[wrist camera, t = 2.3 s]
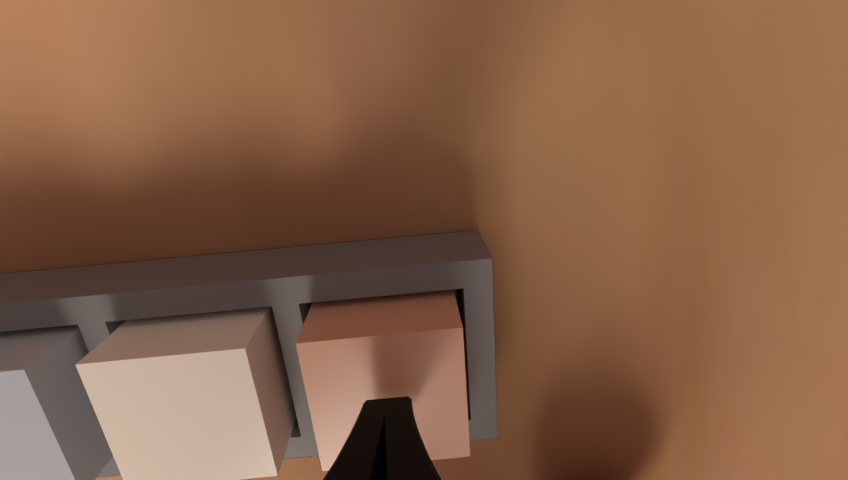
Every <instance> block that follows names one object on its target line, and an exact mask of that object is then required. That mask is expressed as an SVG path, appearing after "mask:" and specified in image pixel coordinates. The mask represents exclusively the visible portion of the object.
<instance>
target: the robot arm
mask: <svg viewBox="0 0 848 480" xmlns="http://www.w3.org/2000/svg"><path fill="white" fill-rule="evenodd" d="M323 480H441V478H440V477H439V475H438V473H437V471H436V469H435V467H434V465H433V463H432V461H431V459H430V457H429V455H428V452H427V450H426V448H425V445H424V443H423V441H422V438H421V436H420V433H419V430H418V427H417V424H416V421H415V417H414V414H413V406H412V399H411V398H409V397H408V396H404V397H394V398H383V399H373V400H366V401H365V402H364V403H363V406H362V408H361V411H360V413H359V415H358V418H357V420H356V422H355V424H354V426H353V428H352V430H351V432H350V434H349V436H348V438H347V440H346V442H345V444H344V446H343V447H342V449H341V451H340V453H339V455H338V456H337V458H336V460H335V462H334V463H333V465H332V466H331V468H330V470H329V471H328V473H327V474H326V476H325V478H324V479H323Z"/></svg>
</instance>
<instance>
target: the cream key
mask: <svg viewBox="0 0 848 480" xmlns="http://www.w3.org/2000/svg"><path fill="white" fill-rule="evenodd" d="M75 365H76V368H77V370H78V372H79V375H80V377H81V380H82V382H83V384H84V387H85V389H86V392H87V394H88V397H89V399H90V401H91V404H92V406H93V409H94V411H95V413H96V416H97V418H98V421H99V423H100V425H101V428H102V430H103V433H104V435H105V437H106V440H107V442H108V445H109V447H110V449H111V452H112V454H113V457H114V459H115V461H116V464H117V466H118V469H119V471H120V474H121V476H122V478H123V480H240V479H250V478H260V477H270V476H278V473H279V470H280V467H281V464H282V461H283V458H284V454H285V451H286V448H287V445H288V442H289V439H290V436H291V432H292V429H293V426H294V423H295V420H296V417H297V416H296V411H295V407H294V402H293V398H292V393H291V389H290V385H289V380H288V376H287V371H286V367H285V362H284V358H283V353H282V349H281V344H280V340H279V335H278V331H277V326H276V322H275V317H274V313H273V308H272V306H270V307H259V308H249V309H238V310H227V311H217V312H206V313H195V314H185V315H174V316H163V317H153V318H142V319H131V320H127V321H125V322H124V323H123V324H122V325H121V326H120V327H118V328H117V329H116V330H115V331H114V332H113V333H111V334H110V335H109V336H108V337H107V338H106V339H104V340H103V341H102V342H101V343H100V344H99V345H97V346H96V347H95V348H94V349H93V350H92V351H90V352H89V353H88V354H87V355H86V356H85V357H83V358H82V359H81V360H80V361H79V362H78V363H76V364H75Z"/></svg>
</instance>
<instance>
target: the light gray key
mask: <svg viewBox="0 0 848 480" xmlns="http://www.w3.org/2000/svg"><path fill="white" fill-rule="evenodd" d="M88 353H89V351H88V349H87V346H86V344H85V341H84V339H83V336H82V334H81V331H80V329H79V326H78V325H67V326H57V327H46V328H36V329H25V330H14V331H4V332H0V480H95V478H96V477H97V476H98V475H99V473H100V472H101V471H102V469H103V468H104V467H105V466H106V464H107V463H108V462H109V460H110V459H111V458H112V457H113V454H112V452H111V449H110V447H109V445H108V442H107V440H106V437H105V435H104V433H103V430H102V428H101V425H100V423H99V421H98V418H97V416H96V413H95V411H94V409H93V406H92V404H91V401H90V399H89V397H88V394H87V392H86V389H85V387H84V384H83V382H82V380H81V377H80V375H79V372H78V370H77V368H76V365H75V364H76V363H78V362H79V361H80V360H81V359H82V358H83V357H85V356H86V355H87V354H88Z"/></svg>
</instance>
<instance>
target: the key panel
mask: <svg viewBox="0 0 848 480" xmlns="http://www.w3.org/2000/svg"><path fill="white" fill-rule="evenodd" d="M451 289H454V294H455V298H456V302H457V306H458V310H459V314H460V318H461V322H462V326H463V339H464V356H465V373H466V390H467V407H468V424H469V441H472V440H482V439H492V438H498V434H497V402H496V370H495V337H494V305H493V273H492V257H491V255H490V253H489V251H488V249H487V248H486V246H485V244H484V242H483V240H482V238H481V236H480V234H479V232H478V230H472V231H461V232H450V233H439V234H428V235H418V236H407V237H396V238H385V239H374V240H363V241H352V242H341V243H331V244H320V245H309V246H298V247H287V248H276V249H265V250H254V251H244V252H233V253H222V254H211V255H200V256H189V257H178V258H167V259H157V260H146V261H135V262H124V263H113V264H102V265H91V266H80V267H70V268H59V269H48V270H37V271H26V272H15V273H4V274H0V332H4V331H14V330H25V329H36V328H46V327H57V326H67V325H78V326H79V329H80V331H81V334H82V336H83V339H84V341H85V344H86V346H87V349H88V351H89V352H90V351H92V350H93V349H94V348H95V347H96V346H97V345H99V344H100V343H101V342H102V341H103V340H104V339H106V338H107V337H108V336H109V335H110V334H111V333H113V332H114V331H115V330H116V329H117V328H118V327H120V326H121V325H122V324H123V323H124V322H125V321H127V320H131V319H142V318H153V317H163V316H174V315H185V314H195V313H206V312H217V311H227V310H238V309H249V308H259V307H270V306H272V308H273V313H274V317H275V322H276V326H277V331H278V335H279V340H280V344H281V349H282V353H283V358H284V362H285V367H286V371H287V376H288V380H289V385H290V389H291V393H292V398H293V402H294V407H295V411H296V416H297V417H296V420H295V423H294V426H293V429H292V432H291V436H290V439H289V442H288V445H287V448H286V451H285V454H284V458H283V459H291V458H301V457H311V456H319V453H318V448H317V443H316V438H315V434H314V429H313V424H312V419H311V415H310V410H309V405H308V400H307V396H306V391H305V386H304V381H303V377H302V372H301V367H300V362H299V357H298V353H297V348H296V341H297V339H298V336H299V334H300V332H301V329H302V327H303V324H304V322H305V319H306V317H307V315H308V312H309V310H310V307H311V305H312V302H323V301H334V300H344V299H355V298H366V297H376V296H387V295H398V294H408V293H419V292H430V291H440V290H451ZM120 475H121V474H120V471H119V469H118V466H117V464H116V461H115V459H114V457H112V458H111V459H110V460H109V462H108V463H107V464H106V466H105V467H104V468H103V469H102V471H101V472H100V473H99V475H98V476H97V477H96V478H99V477H109V476H120Z"/></svg>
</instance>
